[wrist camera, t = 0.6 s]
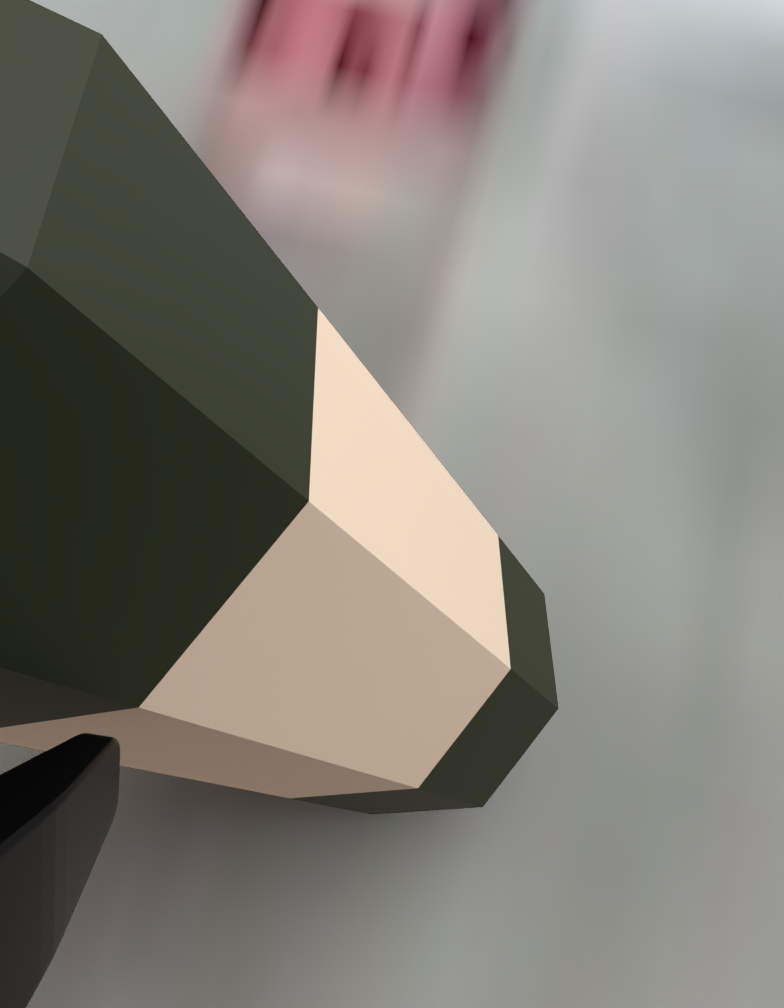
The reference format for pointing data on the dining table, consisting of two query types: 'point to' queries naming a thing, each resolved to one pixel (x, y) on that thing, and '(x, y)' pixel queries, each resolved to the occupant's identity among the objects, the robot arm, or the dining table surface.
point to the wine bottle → (222, 487)
